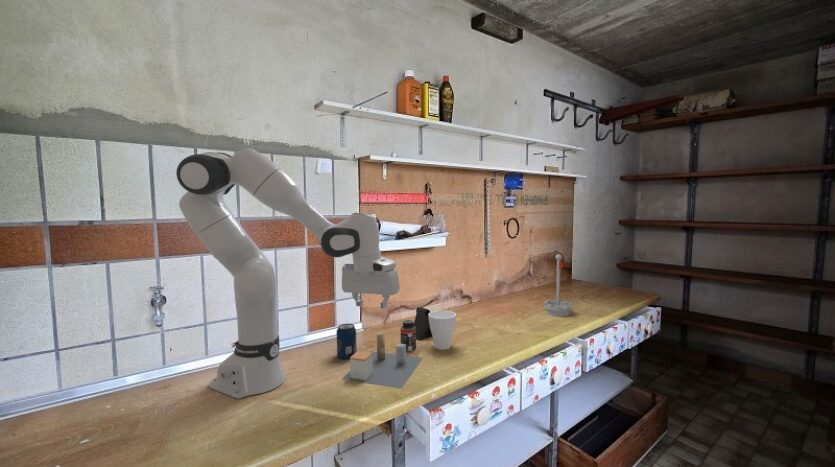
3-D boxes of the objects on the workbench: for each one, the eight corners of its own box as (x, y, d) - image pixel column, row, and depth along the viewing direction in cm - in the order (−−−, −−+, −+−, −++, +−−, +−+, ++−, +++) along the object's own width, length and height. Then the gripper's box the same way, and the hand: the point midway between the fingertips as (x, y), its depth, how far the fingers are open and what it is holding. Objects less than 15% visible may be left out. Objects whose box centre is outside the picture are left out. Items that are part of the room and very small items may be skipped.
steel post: (396, 364, 121) (396, 346, 120) (399, 360, 123) (398, 343, 123) (403, 364, 120) (403, 347, 119) (406, 361, 122) (406, 344, 122)
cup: (461, 350, 134) (461, 315, 133) (439, 356, 128) (438, 320, 127) (445, 341, 143) (445, 308, 142) (423, 347, 137) (423, 313, 136)
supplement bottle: (414, 354, 131) (414, 324, 130) (398, 353, 132) (398, 323, 131) (417, 347, 137) (417, 319, 136) (402, 346, 138) (402, 318, 137)
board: (341, 382, 111) (341, 378, 111) (371, 354, 132) (371, 351, 131) (401, 391, 104) (401, 388, 104) (423, 360, 125) (423, 357, 125)
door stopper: (427, 331, 154) (427, 304, 153) (436, 335, 150) (435, 307, 149) (410, 336, 149) (410, 308, 148) (418, 340, 144) (418, 311, 143)
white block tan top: (350, 377, 111) (350, 357, 111) (358, 370, 116) (357, 351, 116) (365, 380, 110) (365, 359, 109) (372, 372, 114) (372, 352, 114)
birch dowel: (375, 360, 124) (375, 335, 123) (379, 356, 127) (378, 332, 126) (383, 361, 123) (382, 335, 122) (386, 357, 126) (385, 333, 125)
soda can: (335, 356, 130) (334, 324, 129) (354, 353, 132) (353, 321, 132) (339, 364, 123) (338, 330, 123) (358, 360, 126) (357, 327, 125)
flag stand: (539, 310, 184) (540, 253, 182) (563, 309, 186) (564, 252, 184) (551, 317, 171) (552, 256, 169) (577, 316, 173) (578, 255, 171)
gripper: (335, 265, 113) (339, 307, 114) (389, 266, 104) (393, 312, 105) (347, 262, 119) (351, 302, 120) (400, 262, 109) (403, 305, 111)
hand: (371, 306), depth 112 cm, fingers open, 8 cm apart
